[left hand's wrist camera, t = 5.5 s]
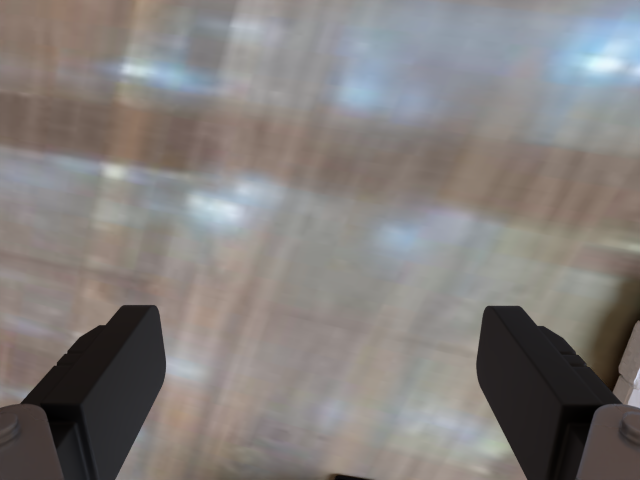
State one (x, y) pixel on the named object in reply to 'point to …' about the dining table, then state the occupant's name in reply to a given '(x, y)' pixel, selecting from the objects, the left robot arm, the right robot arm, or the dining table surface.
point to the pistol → (630, 371)
